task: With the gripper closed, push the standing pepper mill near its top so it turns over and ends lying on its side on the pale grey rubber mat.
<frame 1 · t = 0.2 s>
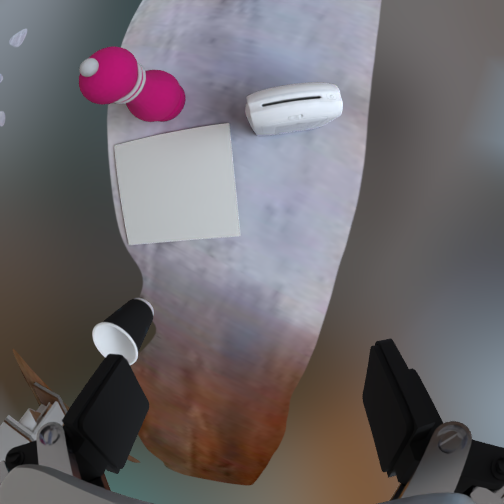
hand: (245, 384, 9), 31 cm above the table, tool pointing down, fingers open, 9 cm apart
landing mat: (173, 186, 38), on the table
dixie cup: (142, 309, 45), on the table
photo printer: (288, 118, 34), on the table
pepper mill: (165, 101, 34), on the table
architectural model tower: (52, 398, 62), on the table
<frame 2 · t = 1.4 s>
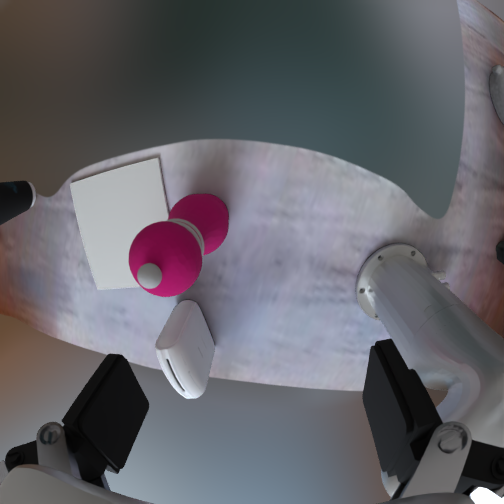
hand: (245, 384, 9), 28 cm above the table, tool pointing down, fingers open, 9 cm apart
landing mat: (122, 230, 37), on the table
dixie cup: (28, 194, 36), on the table
photo printer: (196, 326, 42), on the table
pepper mill: (205, 216, 36), on the table
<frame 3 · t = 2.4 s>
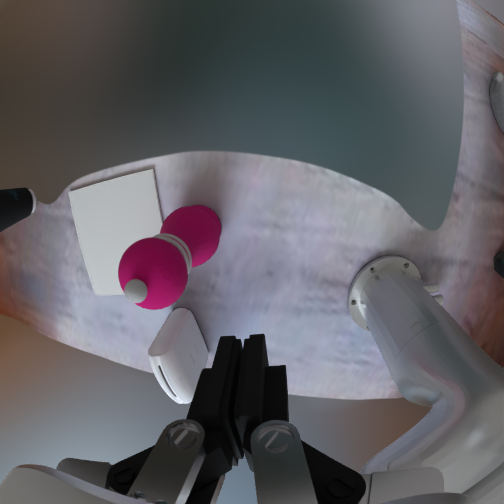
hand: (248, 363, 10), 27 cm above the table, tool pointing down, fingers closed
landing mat: (119, 238, 38), on the table
dixie cup: (29, 200, 37), on the table
photo printer: (191, 332, 43), on the table
pepper mill: (199, 227, 37), on the table
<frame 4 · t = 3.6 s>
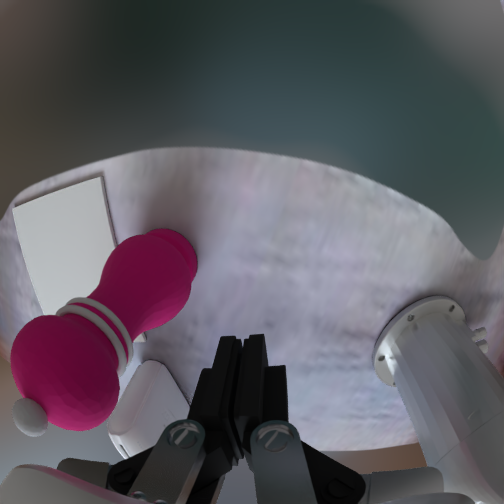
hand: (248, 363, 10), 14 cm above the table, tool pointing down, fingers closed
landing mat: (68, 270, 26), on the table
photo printer: (167, 387, 31), on the table
pepper mill: (166, 259, 25), on the table
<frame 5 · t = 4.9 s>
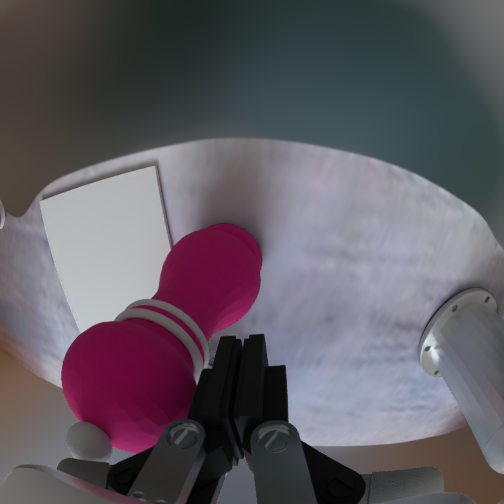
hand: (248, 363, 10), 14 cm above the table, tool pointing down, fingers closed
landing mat: (108, 268, 26), on the table
pepper mill: (227, 256, 24), on the table
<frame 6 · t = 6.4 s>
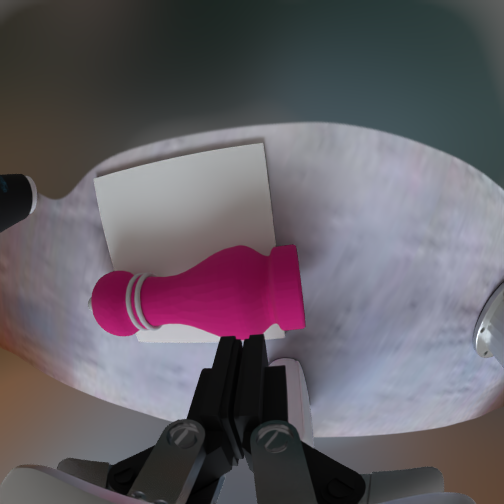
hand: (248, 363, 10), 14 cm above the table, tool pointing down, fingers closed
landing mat: (187, 258, 25), on the table
dixie cup: (27, 194, 24), on the table
photo printer: (289, 386, 29), on the table
pepper mill: (303, 285, 20), point 4 cm above the table, touching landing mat
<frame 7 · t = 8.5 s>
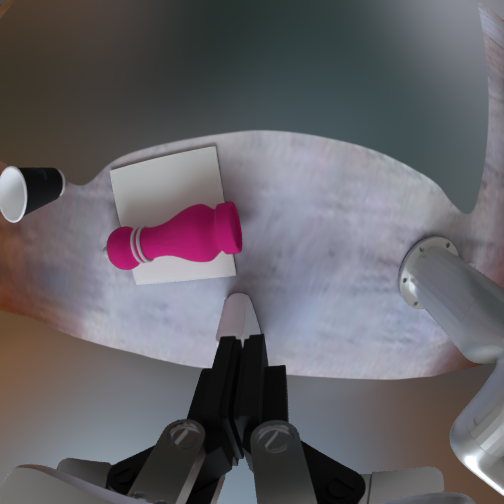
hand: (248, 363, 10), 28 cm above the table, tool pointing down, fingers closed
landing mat: (170, 220, 37), on the table
dixie cup: (56, 183, 36), on the table
photo printer: (244, 319, 42), on the table
pepper mill: (238, 226, 33), point 4 cm above the table, touching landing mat
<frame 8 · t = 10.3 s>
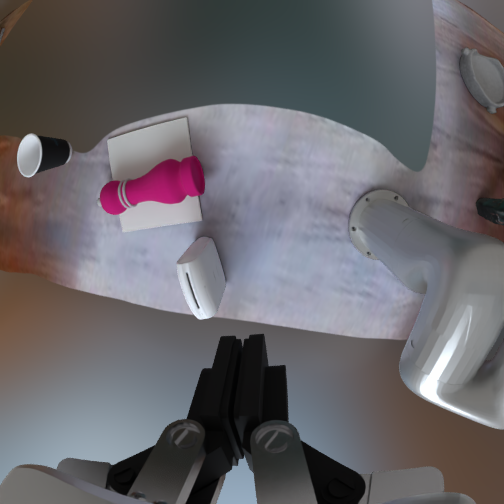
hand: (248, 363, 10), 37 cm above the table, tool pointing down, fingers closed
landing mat: (151, 176, 45), on the table
dish: (479, 81, 33), on the table
dixie cup: (65, 152, 44), on the table
photo printer: (210, 262, 50), on the table
pepper mill: (199, 174, 40), point 4 cm above the table, touching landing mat
ceramic cat: (499, 193, 40), on the table
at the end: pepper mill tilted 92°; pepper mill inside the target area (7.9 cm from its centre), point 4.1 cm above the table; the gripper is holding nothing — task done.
